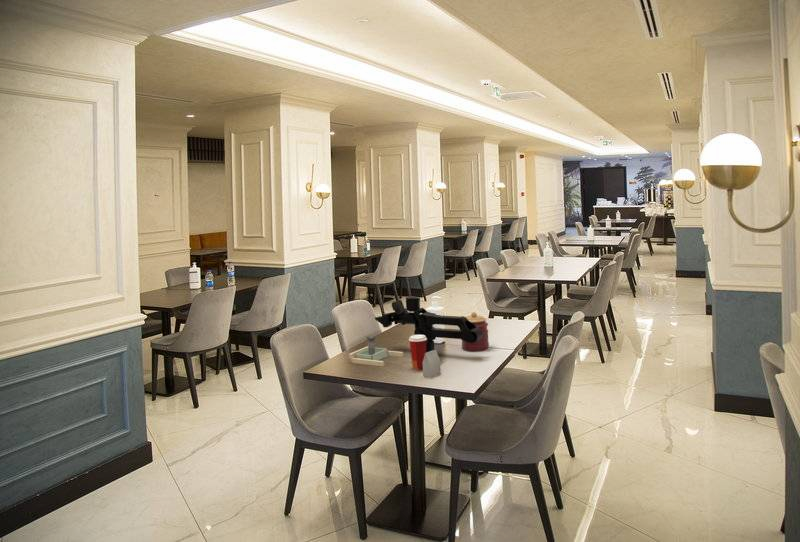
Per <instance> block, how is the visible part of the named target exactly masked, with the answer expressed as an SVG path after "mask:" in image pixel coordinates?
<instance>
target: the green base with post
mask: <svg viewBox="0 0 800 542" xmlns="http://www.w3.org/2000/svg"><path fill="white" fill-rule="evenodd" d="M375 340H376V336H375V335H368V336H366V341H367V346H368V349H366V350H364V351H361V352H359V353H357V354H356V358H360V359H368V360H377V361H382V360H383V359H384V358H385V359H386V357H389V356H388V351H389V349H388V348H384V347H376V346H375V345H376V344H375Z"/></svg>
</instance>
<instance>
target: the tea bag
mask: <svg viewBox="0 0 800 542" xmlns="http://www.w3.org/2000/svg"><path fill="white" fill-rule="evenodd" d="M422 363H423V370H422V377H423V376H424V377H423V378H427V377H429V378H428V379H431V377H432V378H434V377H436V375H437V376H439V375H441V371H442V370H441V359H440V357H439V354H438V352H437V349H435V350H433V351H430V352H427V353H425V356H424V359H423V362H422ZM433 376H434V377H433Z"/></svg>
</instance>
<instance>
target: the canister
mask: <svg viewBox="0 0 800 542" xmlns="http://www.w3.org/2000/svg"><path fill="white" fill-rule="evenodd" d="M465 317H466V318H467V319H468V320H469V321H470V322H472V323H473V324H474V325H475V326H476V327H477V328H480V330H481V331H482V333H483V336H482V338H481V339H480V340H478V341H476V342H475V343H469V342H465V341H463V340H461V347H462V348H461V349H462V350H463V351H465V352H483V351H486V350H488V349H489V347H490V341H489V330H488V325H489V323H488V322H487V321H486V320H487V318H485V317H484V316H482V315H479V314H477V312H475V311H474V312H471V315H468V316H465Z"/></svg>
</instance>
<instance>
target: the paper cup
mask: <svg viewBox="0 0 800 542" xmlns="http://www.w3.org/2000/svg"><path fill="white" fill-rule="evenodd" d="M426 340H427V338H426V336H425V335H415V334H414V335H410V336H409V338H408V341H409V346H410V354H411V356H410V357H411V363H412V369H413V370H414V369H415V371H423V363H422V362H423V359H424V356H425V353H426Z"/></svg>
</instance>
